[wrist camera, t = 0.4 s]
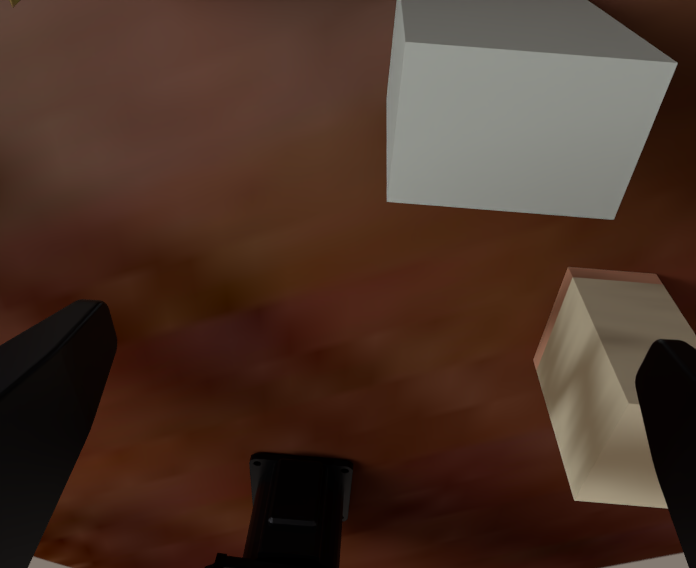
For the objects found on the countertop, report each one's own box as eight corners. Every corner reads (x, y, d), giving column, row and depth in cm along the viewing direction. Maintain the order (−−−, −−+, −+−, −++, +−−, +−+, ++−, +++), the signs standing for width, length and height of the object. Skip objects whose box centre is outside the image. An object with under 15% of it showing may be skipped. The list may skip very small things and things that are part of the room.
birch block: (609, 366, 29) (672, 508, 22) (533, 359, 29) (574, 500, 22) (655, 273, 25) (746, 413, 19) (567, 266, 25) (628, 403, 19)
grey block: (577, -7, 18) (677, 63, 12) (544, 110, 21) (613, 219, 15) (398, -21, 19) (405, 42, 12) (386, 98, 21) (386, 201, 15)
